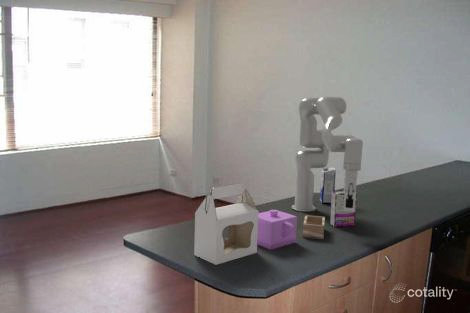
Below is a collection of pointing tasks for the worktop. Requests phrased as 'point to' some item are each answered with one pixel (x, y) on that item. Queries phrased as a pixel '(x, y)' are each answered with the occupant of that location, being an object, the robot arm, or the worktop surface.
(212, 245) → the gable box
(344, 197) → the brushed metal block
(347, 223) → the candy bar box
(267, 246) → the teapot
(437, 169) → the worktop surface
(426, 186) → the worktop surface
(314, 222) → the open wooden box
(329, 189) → the milk carton
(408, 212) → the worktop surface
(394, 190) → the worktop surface
